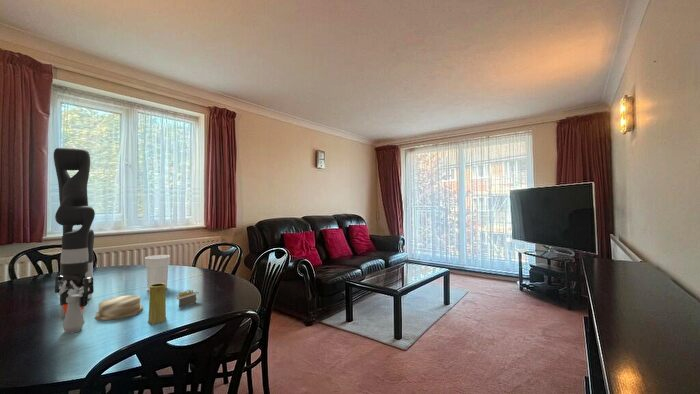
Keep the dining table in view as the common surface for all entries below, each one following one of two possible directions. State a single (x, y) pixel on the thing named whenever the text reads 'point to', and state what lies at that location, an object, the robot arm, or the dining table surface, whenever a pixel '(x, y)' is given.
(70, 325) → the salt shaker
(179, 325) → the dining table surface
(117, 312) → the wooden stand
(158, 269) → the cup
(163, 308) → the vase
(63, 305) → the clementine
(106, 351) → the dining table surface
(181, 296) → the platform
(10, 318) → the dining table surface
